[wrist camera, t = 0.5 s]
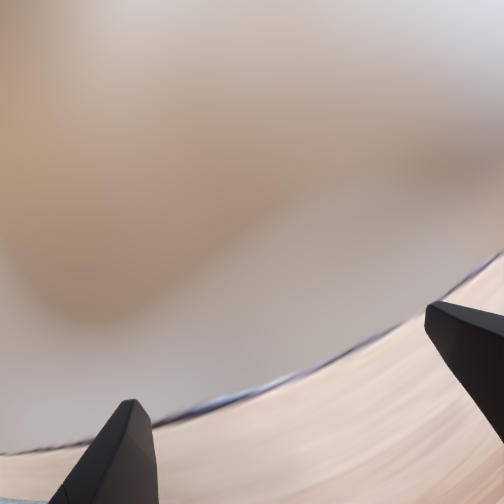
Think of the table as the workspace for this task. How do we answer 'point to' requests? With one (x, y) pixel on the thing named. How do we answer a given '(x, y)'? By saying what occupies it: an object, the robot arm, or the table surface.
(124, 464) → the robot arm
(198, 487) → the table surface
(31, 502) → the board
